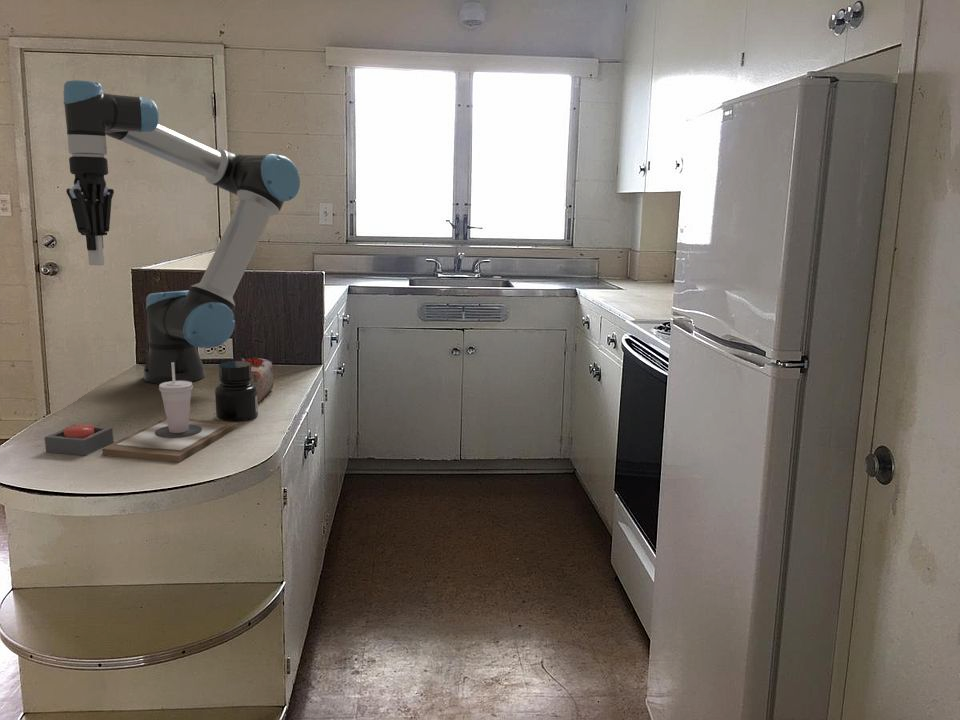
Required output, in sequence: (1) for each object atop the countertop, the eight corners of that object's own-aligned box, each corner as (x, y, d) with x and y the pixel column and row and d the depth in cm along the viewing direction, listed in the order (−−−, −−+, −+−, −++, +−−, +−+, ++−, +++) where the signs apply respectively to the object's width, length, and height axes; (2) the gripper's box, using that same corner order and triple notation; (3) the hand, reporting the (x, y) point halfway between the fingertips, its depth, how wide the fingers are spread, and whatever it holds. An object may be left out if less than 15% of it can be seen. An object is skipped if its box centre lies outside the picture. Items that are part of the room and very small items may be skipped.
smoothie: (183, 423, 166) (179, 358, 163) (202, 429, 163) (197, 362, 160) (155, 430, 161) (150, 363, 158) (173, 436, 158) (168, 368, 155)
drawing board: (168, 422, 172) (167, 415, 172) (236, 428, 169) (236, 421, 169) (102, 454, 151) (102, 447, 151) (179, 462, 148) (179, 454, 148)
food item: (262, 404, 188) (261, 364, 186) (228, 404, 188) (227, 363, 186) (276, 390, 201) (275, 352, 199) (244, 389, 201) (243, 351, 199)
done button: (77, 434, 158) (75, 423, 157) (100, 437, 157) (99, 425, 156) (58, 442, 153) (57, 431, 152) (82, 445, 152) (81, 433, 151)
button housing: (75, 438, 160) (74, 424, 159) (113, 442, 158) (112, 427, 158) (46, 451, 152) (44, 436, 151) (85, 455, 150) (84, 440, 150)
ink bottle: (267, 416, 179) (265, 364, 176) (236, 425, 171) (233, 371, 169) (238, 408, 184) (236, 358, 181) (206, 417, 177) (204, 364, 174)
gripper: (92, 157, 180) (100, 261, 185) (51, 154, 167) (61, 266, 172) (122, 157, 178) (129, 263, 183) (83, 155, 166) (92, 268, 171)
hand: (96, 264), depth 178 cm, fingers closed
